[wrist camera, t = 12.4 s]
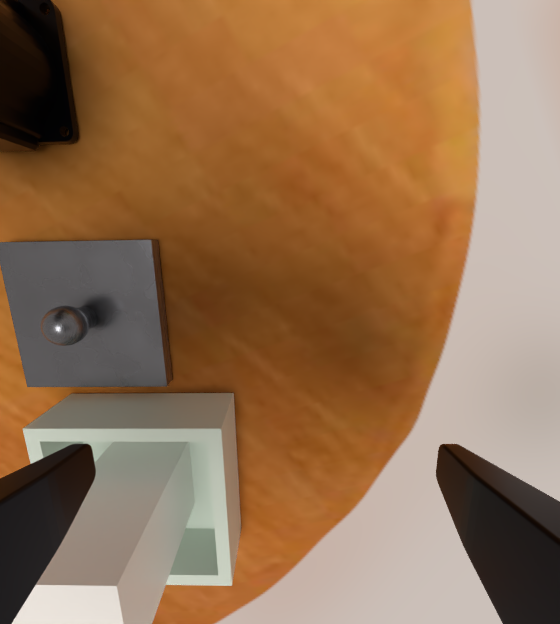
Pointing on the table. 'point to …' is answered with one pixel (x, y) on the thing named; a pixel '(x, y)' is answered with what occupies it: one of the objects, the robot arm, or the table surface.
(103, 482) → the grey tall block
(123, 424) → the bin
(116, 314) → the stud plate
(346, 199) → the table surface
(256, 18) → the table surface
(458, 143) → the table surface
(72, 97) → the robot arm
